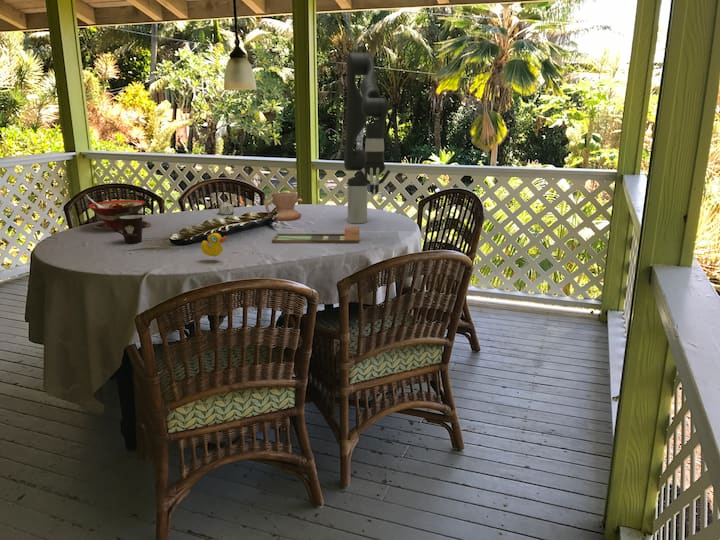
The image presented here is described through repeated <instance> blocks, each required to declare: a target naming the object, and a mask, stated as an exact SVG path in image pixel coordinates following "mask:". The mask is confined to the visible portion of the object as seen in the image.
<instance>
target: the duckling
mask: <svg viewBox="0 0 720 540" xmlns="http://www.w3.org/2000/svg"><path fill="white" fill-rule="evenodd" d="M226 241H227V236H226V235H225V236H224V237H222V235H221V234H220V233H218V232H212V233H211V234H210V235H208V236H207V240H202V242H201V244H200V246H201V247H200V249H201V251H202V253H203V254H204V255H207V256H209V257H217V256H219V255H221V254H222V252H223V251H224V248H223V245H222V244H223V243H225V242H226ZM208 242H209V243H208ZM221 243H222V244H221ZM209 244H211V245H209Z"/></svg>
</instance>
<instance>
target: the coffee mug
mask: <svg viewBox="0 0 720 540" xmlns="http://www.w3.org/2000/svg"><path fill="white" fill-rule="evenodd" d="M119 218H120V221H118V220H114V221H112V222H111V227H112V228H113V229H114V230H115V231H117V232H116V233H119V234H121V235H122V236H123V241H124V243H126V244H136V243H141V242H142V241H143V227H142V221H143V220H142V219H143V215H137V214H136V215H129V216H122V217H119ZM113 222H119V223H120V225H121V227H122V229H121V230H122V231H120V230H116V229H115V228H114V227H113V226H112V224H113ZM113 229H112V230H113ZM114 230H113V231H114ZM115 231H114V232H115Z"/></svg>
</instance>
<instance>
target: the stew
mask: <svg viewBox="0 0 720 540" xmlns="http://www.w3.org/2000/svg"><path fill="white" fill-rule="evenodd" d="M85 195H86V197H87V199H88V200H89V201H90V202H91V204H89V205H88V208H89V209H90V210H92V211H93V213H95V214H96V215H97V216H98V218H100V220H101V221H102V222H101V223H98V224H95V225H94V226H93V227H94V228H95V229H101V230H102V229H103V230H113V231H114V232H116V233H118V232H117V231H115V230H114V229H113V228H112V227H111V222H112V221H114V220H118V221H120V218H119V217H122V216H129V215H137V214H138V212H140V211H141V210H142V208H143V207H144V206H145V204H146V201H145V200H137V199H136V200H135V199H128V198H127V199H124V198H123V199H113V200H105V201H102V202H95V201H94V200H93V199H92V198H91V197H90V196H89V195H88V194H85ZM144 219H145V216H143V218H142V228H144V229H147V228H148V229H149V228H150V225H151V222H150V221H146V220H144ZM105 225H106V226H107V227H104V226H105ZM112 226H113V227H114V228H115V229H116V230H118V231H120V230H122V227H121V225H120V223H119V222H113V224H112Z"/></svg>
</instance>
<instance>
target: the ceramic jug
mask: <svg viewBox="0 0 720 540" xmlns="http://www.w3.org/2000/svg"><path fill="white" fill-rule="evenodd" d="M271 197H272V199H268V200H267V201H266V202H265V204H264V205H265V210H266V212H267V214H268V215H269V213H271V211H270V209H269V204H273V205H274V206H275V208H276V209H274V211H276V212H277V213H278V216H277V219H276V220H275V221H278V222H291V221H297V220H300V219H301V216H302V214H301V213H300V212H299V211H298V210H296V209H295V206H296V204H297V203H299V202H301V203H302V202H303V199H302V198H298V193H297V192H293V191H290V192H288V191H287V192H286V191H284V192H283V191H282V192H272V193H271Z"/></svg>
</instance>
